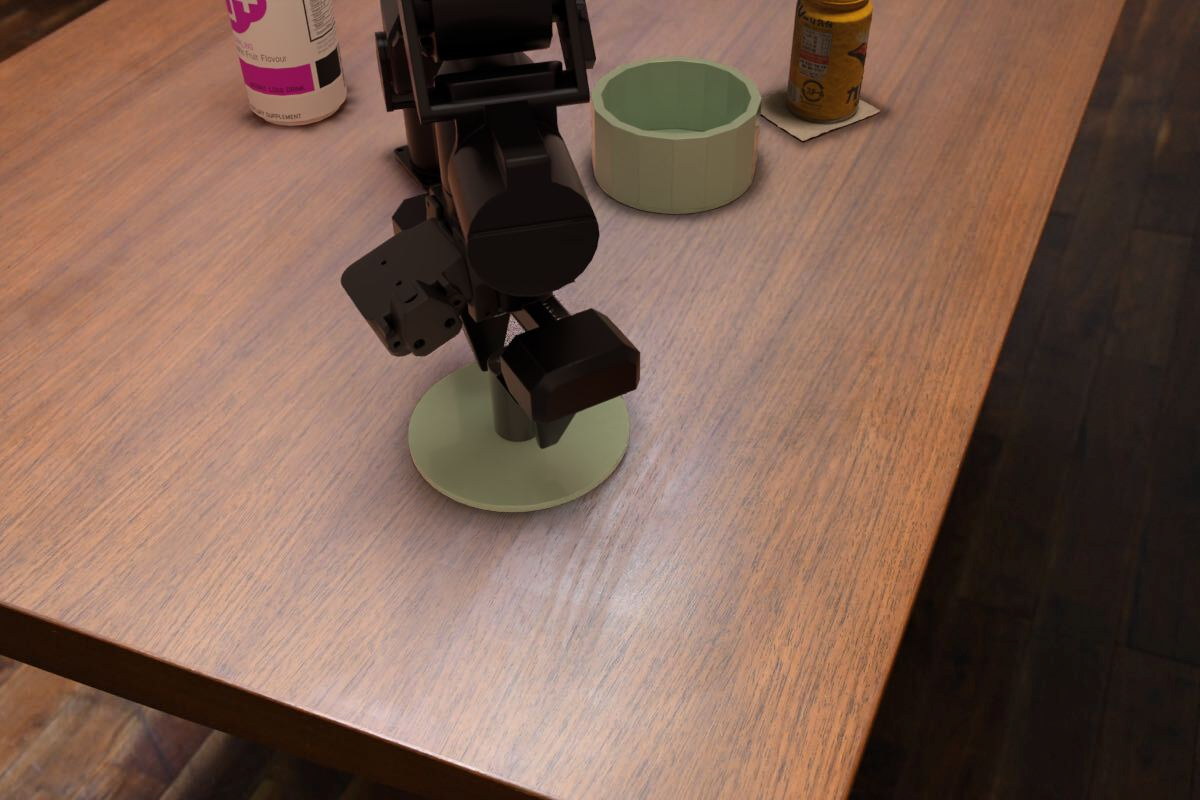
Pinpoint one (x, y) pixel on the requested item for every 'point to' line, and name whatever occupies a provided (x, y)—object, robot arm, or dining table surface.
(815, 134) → the yellow drink can
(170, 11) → the dining table surface
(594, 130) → the canister
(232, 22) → the supplement can
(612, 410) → the lid
